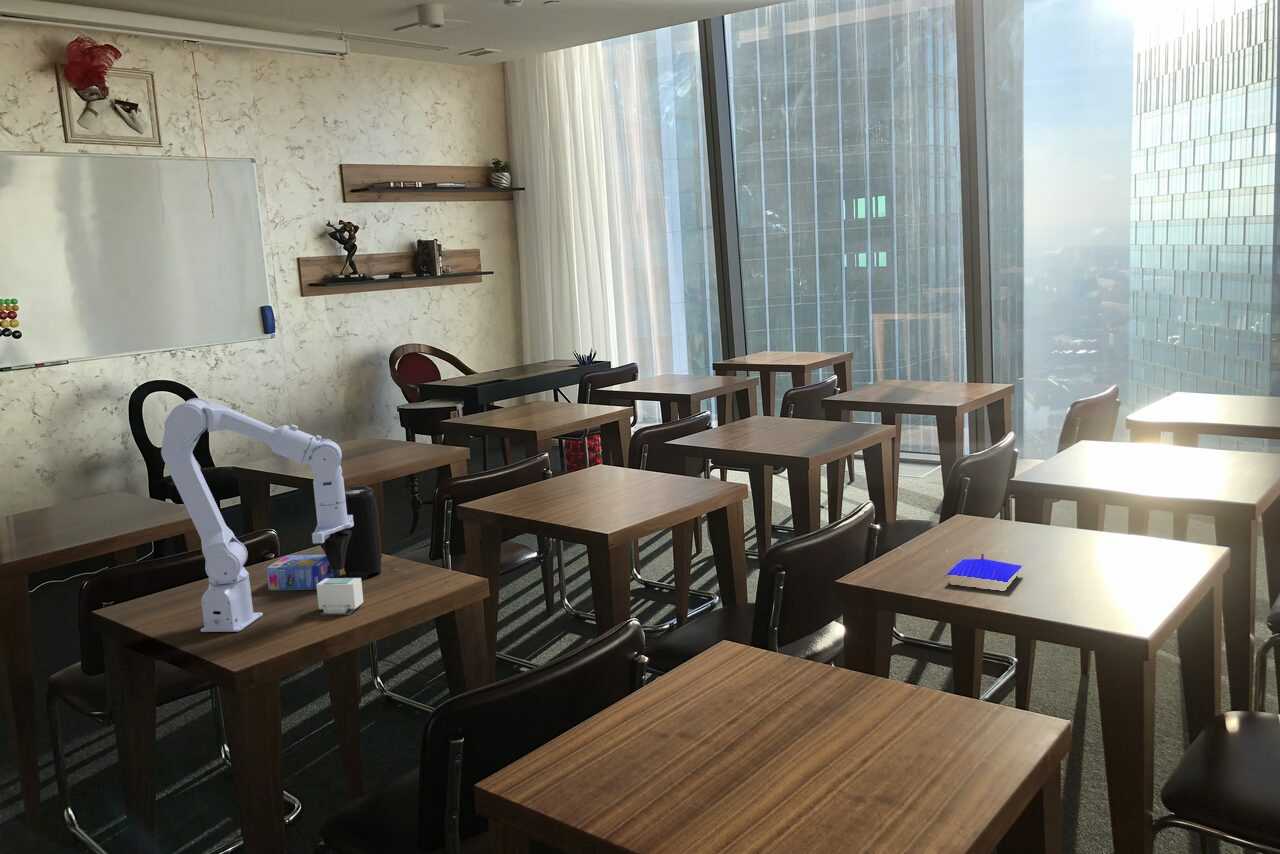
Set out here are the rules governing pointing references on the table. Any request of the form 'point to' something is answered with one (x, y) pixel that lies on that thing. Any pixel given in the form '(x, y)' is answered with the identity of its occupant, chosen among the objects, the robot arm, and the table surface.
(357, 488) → the portable speaker
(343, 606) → the grey base plate
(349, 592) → the rail module
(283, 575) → the ink cartridge box
